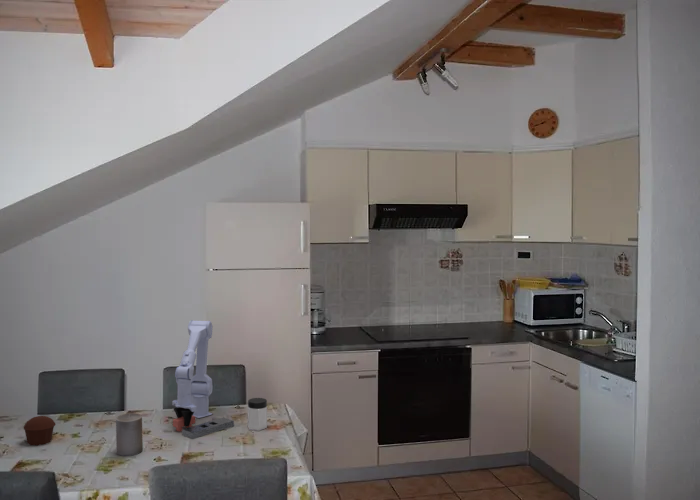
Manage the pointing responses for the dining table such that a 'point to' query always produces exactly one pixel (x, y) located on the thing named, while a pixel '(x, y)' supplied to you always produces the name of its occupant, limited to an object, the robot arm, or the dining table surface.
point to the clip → (182, 423)
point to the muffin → (39, 430)
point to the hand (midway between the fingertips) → (184, 424)
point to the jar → (257, 414)
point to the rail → (207, 428)
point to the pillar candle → (129, 434)
